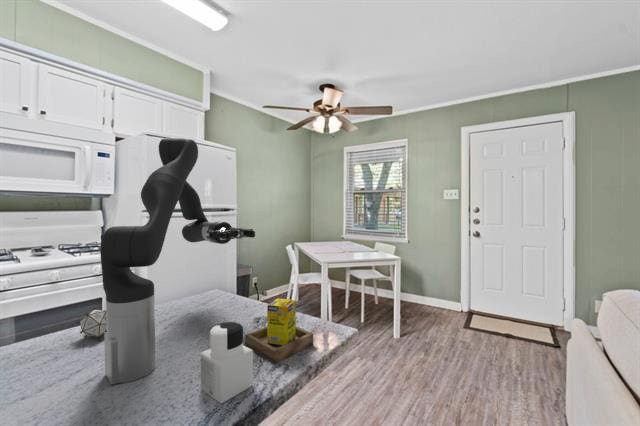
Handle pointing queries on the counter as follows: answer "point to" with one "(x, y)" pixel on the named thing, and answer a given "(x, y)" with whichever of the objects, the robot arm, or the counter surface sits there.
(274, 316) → the supplement box
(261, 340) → the tray
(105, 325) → the game die
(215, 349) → the container
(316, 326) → the counter surface
